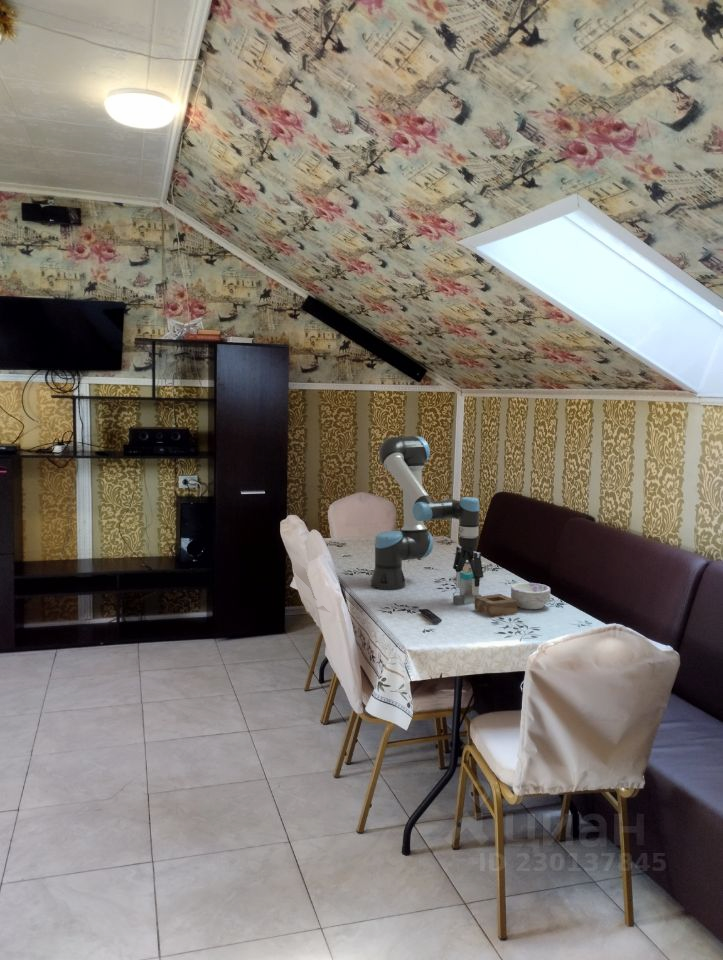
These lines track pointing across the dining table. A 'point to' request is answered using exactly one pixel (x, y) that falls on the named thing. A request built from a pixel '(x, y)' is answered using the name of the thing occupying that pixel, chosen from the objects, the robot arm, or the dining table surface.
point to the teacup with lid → (468, 568)
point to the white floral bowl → (530, 595)
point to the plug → (466, 587)
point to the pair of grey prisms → (461, 599)
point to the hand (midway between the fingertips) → (467, 590)
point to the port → (495, 605)
